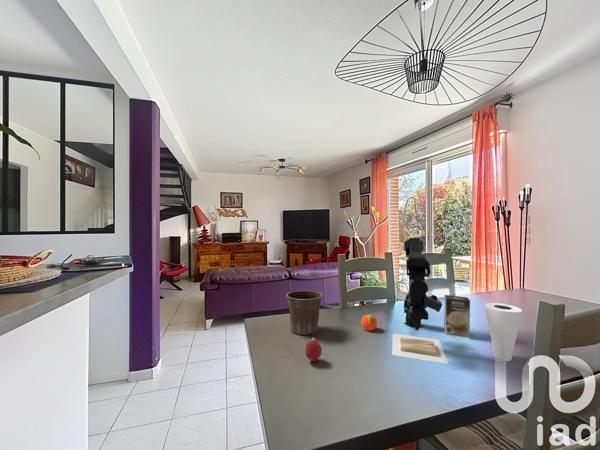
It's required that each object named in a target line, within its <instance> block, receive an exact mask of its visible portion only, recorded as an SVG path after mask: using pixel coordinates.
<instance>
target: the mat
mask: <svg viewBox="0 0 600 450" xmlns="http://www.w3.org/2000/svg"><path fill="white" fill-rule="evenodd" d="M400 337H404V338H412V339H419V340H426V341H433V342H434V345H435V349H436V352H437V356H431V355H424V354H418V353H411V352H405V351H401V346H400ZM391 342H392V344H391V345H392V347H391V355H392V356H398V357H402V358H409V359H415V360H422V361H427V362H434V363H438V364H440V363H441V364H446V365H448V364H449V362H448V359H447V357H446V354H445V351H444V348H443V345H442V343H441V340H440V339H437V338H430V337H421V336H415V335H407V334H400V333H392V341H391Z"/></svg>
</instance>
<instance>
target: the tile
mask: <svg viewBox="0 0 600 450" xmlns="http://www.w3.org/2000/svg"><path fill="white" fill-rule="evenodd" d="M400 346H401V351H405V352H411V353H418V354H424V355H431V356H437V352H436V349H435V345H434V342H433V341H426V340H419V339H412V338H404V337H400Z"/></svg>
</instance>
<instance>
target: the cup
mask: <svg viewBox="0 0 600 450" xmlns="http://www.w3.org/2000/svg"><path fill="white" fill-rule="evenodd" d="M484 308H485V309H484V310H485V315H486V320H487V324H488V329H489V333H490V339H491V344H492V345H491V346H492V349H493V355H494V357H495V358H496V359H498V360H500V361H505V362H510V361H512V359H513V354H514V349H515V343H516V340H517V335H518V330H519V326H520V323H521V322H520V321H521V317H522V314H523V313H522V312H523V310H522V309H521V308H520V307H517V306H515V305H511V304H507V303H501V302H486V303H485V304H484Z"/></svg>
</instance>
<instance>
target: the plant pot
mask: <svg viewBox="0 0 600 450" xmlns="http://www.w3.org/2000/svg"><path fill="white" fill-rule="evenodd" d="M286 297H287V305H288V308H289V320H290V330H291V332H292V333H294V334H295V335H300V336H309V334H311V335H313V334H316V333H317V332H318V330H319V319H320V308H321V303H322V297H323V293H321V292H318V291H314V290H294V291H290V292H287V293H286Z"/></svg>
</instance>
